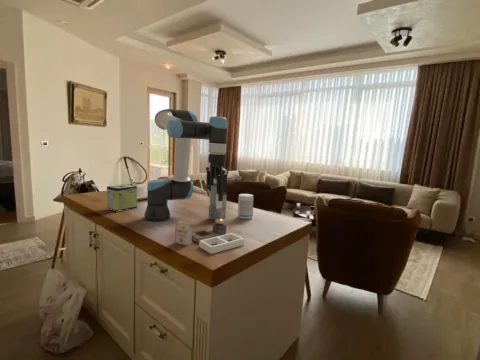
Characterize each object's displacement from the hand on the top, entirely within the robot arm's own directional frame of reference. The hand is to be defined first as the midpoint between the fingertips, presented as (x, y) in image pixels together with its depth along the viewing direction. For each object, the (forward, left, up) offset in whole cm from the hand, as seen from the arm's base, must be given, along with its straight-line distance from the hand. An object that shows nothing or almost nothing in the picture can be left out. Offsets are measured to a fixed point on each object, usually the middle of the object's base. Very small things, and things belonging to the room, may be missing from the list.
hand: (215, 206), depth 118 cm
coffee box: (-37, +28, -19) cm, 50 cm away
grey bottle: (0, 0, -4) cm, 4 cm away
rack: (0, +5, -19) cm, 20 cm away
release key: (-14, +13, -18) cm, 26 cm away
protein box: (-88, -13, -19) cm, 91 cm away
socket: (-14, +6, -19) cm, 25 cm away
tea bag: (-13, -8, -19) cm, 25 cm away
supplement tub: (-30, +45, -19) cm, 57 cm away
